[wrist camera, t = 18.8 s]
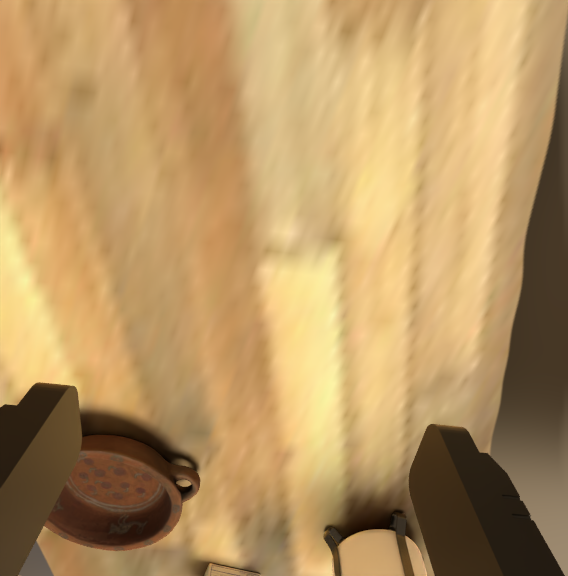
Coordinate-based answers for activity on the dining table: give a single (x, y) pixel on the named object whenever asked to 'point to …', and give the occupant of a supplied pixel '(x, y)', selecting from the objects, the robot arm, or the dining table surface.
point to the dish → (120, 495)
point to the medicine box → (226, 571)
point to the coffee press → (376, 552)
